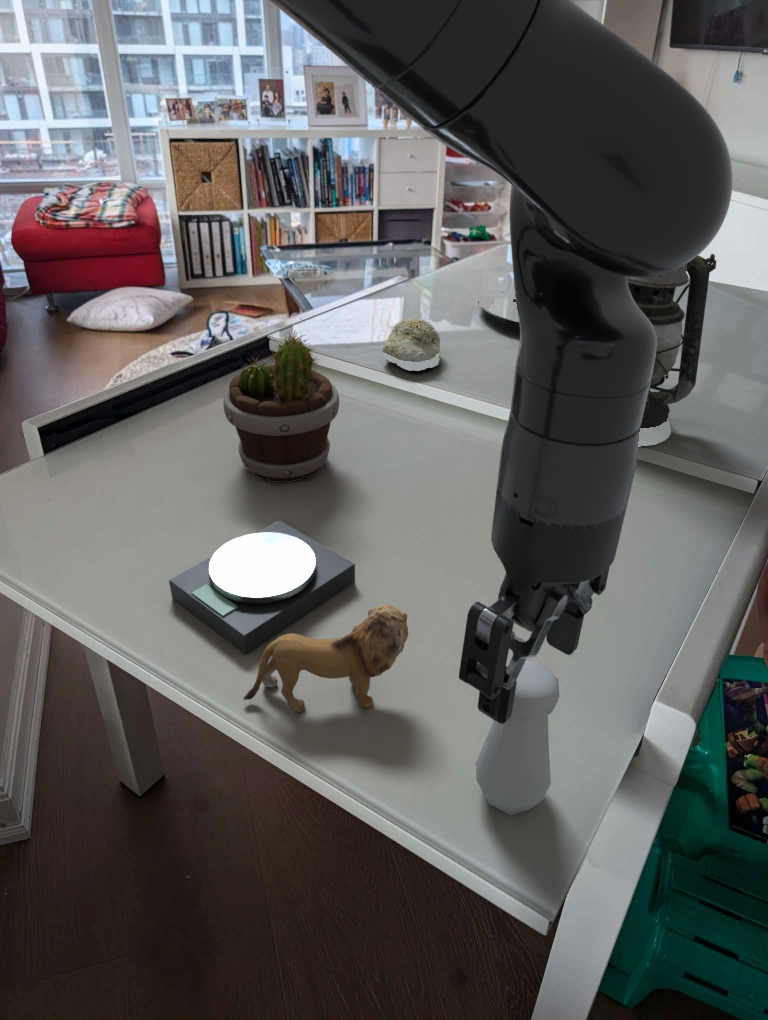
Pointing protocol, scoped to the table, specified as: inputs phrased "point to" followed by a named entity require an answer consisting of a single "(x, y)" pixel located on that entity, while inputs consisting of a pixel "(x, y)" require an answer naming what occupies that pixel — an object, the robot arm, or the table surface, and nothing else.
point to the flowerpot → (282, 414)
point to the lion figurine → (336, 655)
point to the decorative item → (413, 341)
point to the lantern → (673, 330)
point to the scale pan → (262, 567)
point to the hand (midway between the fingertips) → (528, 679)
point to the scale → (264, 620)
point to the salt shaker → (520, 745)
